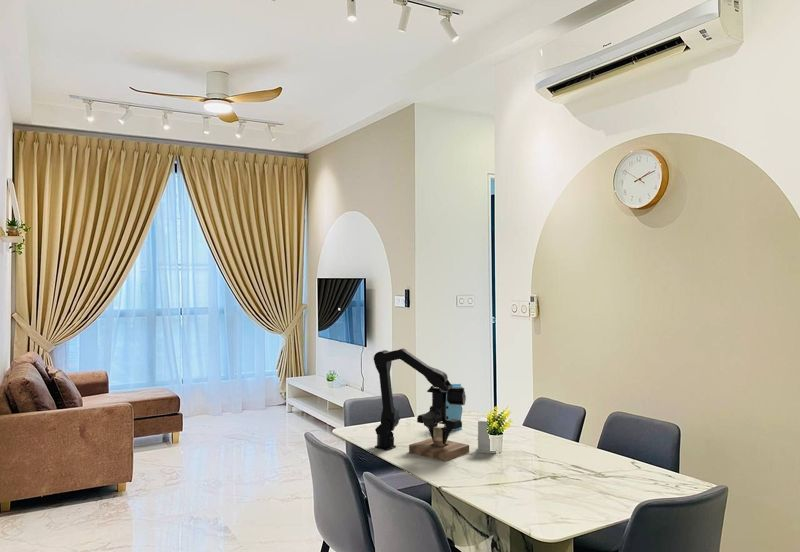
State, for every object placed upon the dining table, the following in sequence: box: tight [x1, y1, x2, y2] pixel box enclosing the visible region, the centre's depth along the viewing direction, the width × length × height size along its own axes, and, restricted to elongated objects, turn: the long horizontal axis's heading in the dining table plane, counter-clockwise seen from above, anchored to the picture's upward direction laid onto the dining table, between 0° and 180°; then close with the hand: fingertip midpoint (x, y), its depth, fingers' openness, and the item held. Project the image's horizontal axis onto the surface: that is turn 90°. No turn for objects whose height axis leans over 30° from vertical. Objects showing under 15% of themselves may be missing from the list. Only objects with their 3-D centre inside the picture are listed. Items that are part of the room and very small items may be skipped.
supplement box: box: [477, 417, 497, 454], centre depth 245 cm, size 7×7×13 cm
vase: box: [446, 383, 463, 431], centre depth 283 cm, size 8×8×20 cm
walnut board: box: [408, 437, 470, 462], centre depth 242 cm, size 18×16×3 cm
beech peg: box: [433, 426, 445, 448], centre depth 242 cm, size 5×5×8 cm
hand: (439, 442), depth 242 cm, fingers closed on beech peg, 4 cm apart
